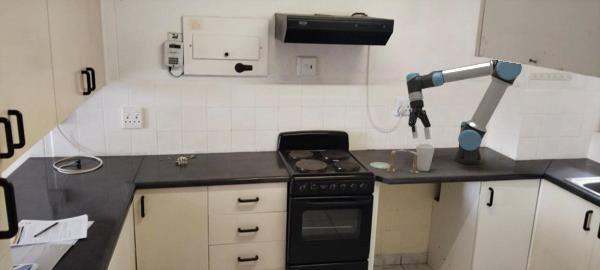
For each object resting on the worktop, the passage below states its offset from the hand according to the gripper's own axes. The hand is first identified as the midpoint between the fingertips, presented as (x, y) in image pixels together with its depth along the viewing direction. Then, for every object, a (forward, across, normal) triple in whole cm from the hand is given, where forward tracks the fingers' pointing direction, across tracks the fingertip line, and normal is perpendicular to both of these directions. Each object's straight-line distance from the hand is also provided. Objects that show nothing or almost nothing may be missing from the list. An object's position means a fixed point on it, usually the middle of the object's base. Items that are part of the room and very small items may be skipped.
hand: (421, 138), depth 268 cm
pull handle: (+16, +13, -7) cm, 22 cm away
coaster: (+12, +15, -19) cm, 27 cm away
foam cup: (+17, +2, -1) cm, 17 cm away
